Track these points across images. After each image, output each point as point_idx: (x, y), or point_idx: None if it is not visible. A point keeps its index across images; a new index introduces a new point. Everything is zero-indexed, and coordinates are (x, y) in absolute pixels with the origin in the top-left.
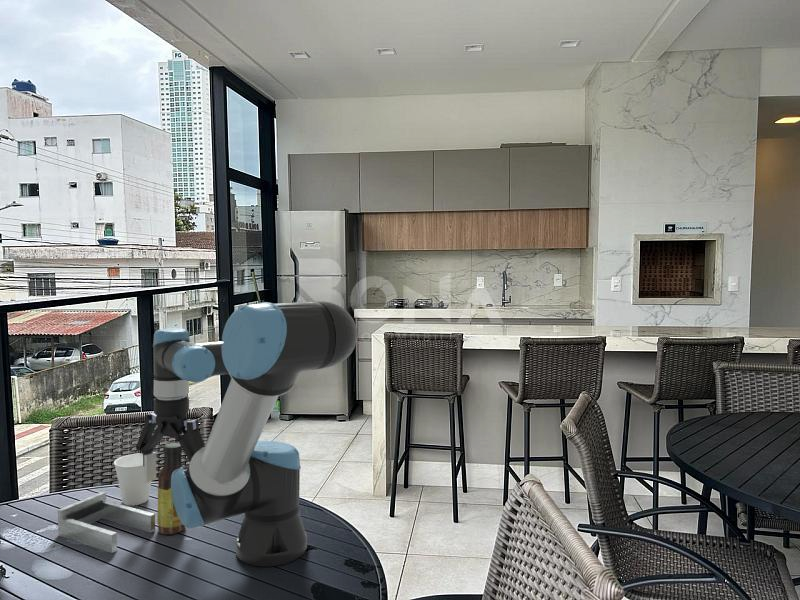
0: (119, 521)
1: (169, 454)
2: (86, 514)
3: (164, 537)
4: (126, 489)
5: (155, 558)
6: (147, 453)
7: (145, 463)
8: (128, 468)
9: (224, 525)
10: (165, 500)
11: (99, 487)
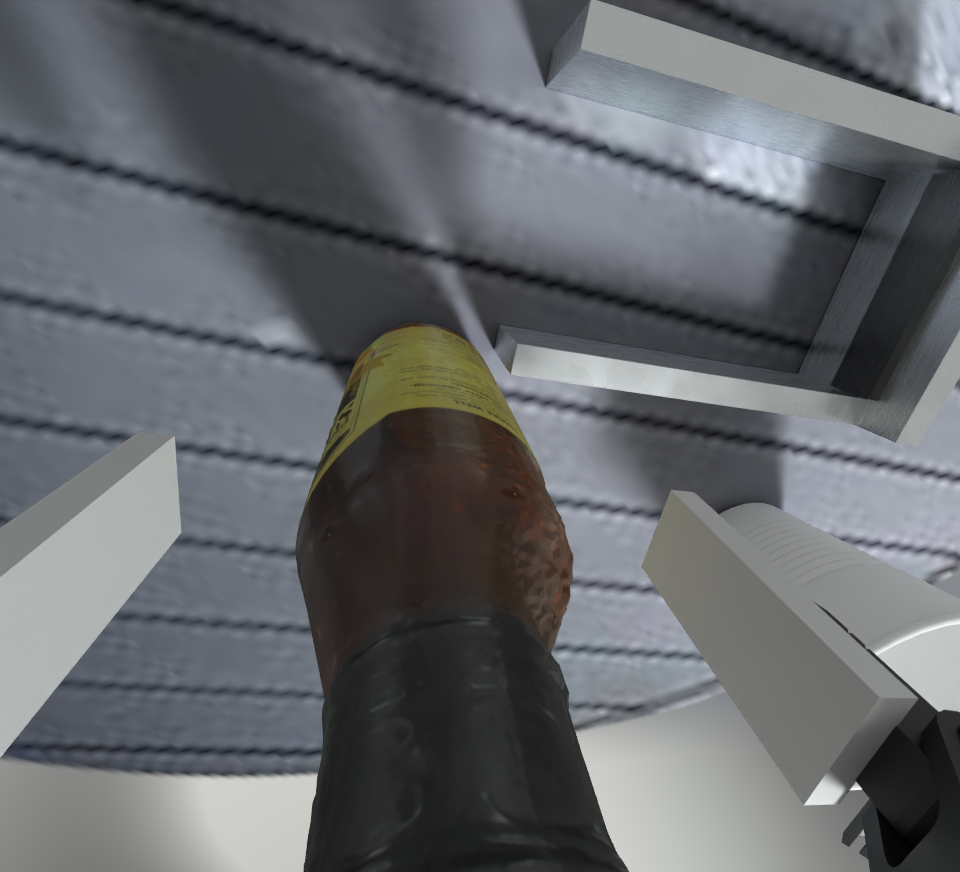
0: (703, 360)
1: (414, 834)
2: (886, 289)
3: (402, 305)
4: (807, 538)
5: (273, 63)
6: (898, 745)
7: (807, 608)
8: (906, 621)
9: (212, 498)
10: (409, 376)
11: (925, 581)
